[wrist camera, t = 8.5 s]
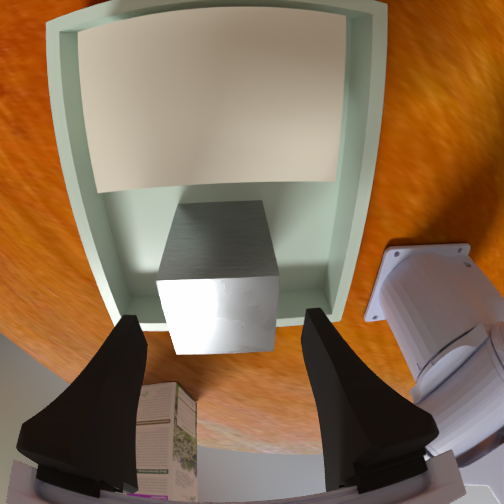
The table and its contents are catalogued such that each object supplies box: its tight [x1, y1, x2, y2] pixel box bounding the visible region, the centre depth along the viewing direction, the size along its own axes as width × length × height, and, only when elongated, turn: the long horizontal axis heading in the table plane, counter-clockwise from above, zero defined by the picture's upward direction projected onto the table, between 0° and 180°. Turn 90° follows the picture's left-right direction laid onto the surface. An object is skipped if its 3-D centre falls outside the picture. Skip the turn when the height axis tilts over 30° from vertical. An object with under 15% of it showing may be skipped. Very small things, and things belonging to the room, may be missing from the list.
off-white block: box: [78, 7, 346, 193], centre depth 12 cm, size 10×7×5 cm
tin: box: [156, 200, 280, 354], centre depth 16 cm, size 5×5×7 cm
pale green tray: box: [46, 0, 388, 331], centre depth 16 cm, size 16×20×4 cm
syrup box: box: [124, 382, 198, 502], centre depth 26 cm, size 6×6×14 cm
